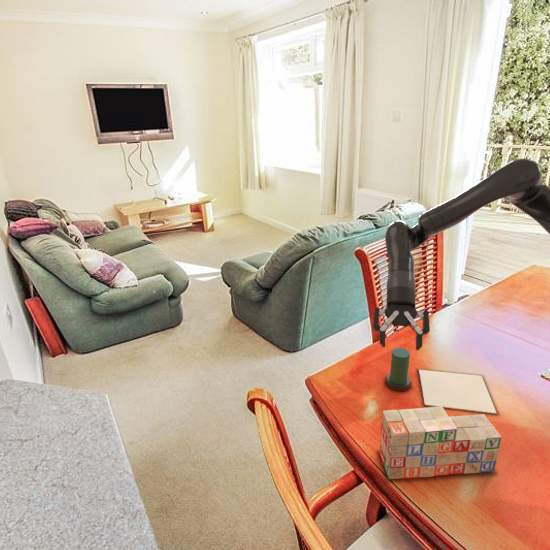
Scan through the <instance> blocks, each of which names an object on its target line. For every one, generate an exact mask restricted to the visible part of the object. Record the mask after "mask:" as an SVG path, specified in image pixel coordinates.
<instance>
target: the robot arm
mask: <svg viewBox="0 0 550 550" xmlns="http://www.w3.org/2000/svg"><path fill="white" fill-rule="evenodd" d="M501 199H504V200H505V201H507V202H508V203H510V204H511V205H513V206H514V207H516V208H517V209H519V210H521V212H523V213H525V214H526V215H528V216H529V217H530V218H532V219H533V220H534V221H535V222H537V223H538V224H539V226H540V227H541V228H543V230H544V231H546V233H547V234H548V235H550V187H549V185H547V184H546V182H545V181H544V180H543V175H542V168H541V166H540V165H539V163H537V162H536V161H535V160H533V159H530V158H517V159H515V160H511V161H510V162H508V163H506V164H505V165H503V166H501V167H500V168H499V169H497V170H495V171H494V172H493V173H491V174H490V175H488V176H486V177H485V178H484V179H483V180H481V181H479V182H478V183H476V184H475V185H473V186H471V187H470V188H468V189H466V190H465V191H463V192H461V193H459V194H458V195H456V196H454V197H453V198H450V199H449V200H447V201H444V202H443V203H439V205H436V206H435V207H433V208H430V209H428V210H427V211H424V212H422V213H421V214H420V215H419V216H418V217H417V223H416V224H415V225H413V226H412V227H410V225H409V224H408V223H407V222H405V221H402V220H395V221H392V223H390V224H389V225H388V226H387V228H386V231H385V236H384V237H385V238H384V239H385V240H384V241H385V249H386V253H387V259H388V266H387V268H388V269H387V280H386V307H385V309H384V308H380V307H378V306H376V307H374V313H373V322H372V323H373V324H372V330H373V331H376V332H378V333H379V345H380V346H381V348H385V347H386V331H387V329H389V327H391V325H393V326H394V327H403V328H405V327H409V328H410V329H411V330H412V331H413V332H414V334H415V350H416V351H419V350H420V349H421V348H422V347H423V336H425V335H429V332H430V331H431V327H430V326H431V325H430V316H429V315H430V314H429V311H428V310H427V309H426V310H423V311H420V310H419V311H418V310H417V309H416V291H417V290H416V289H417V285H416V277H415V259H414V256H413V254H412V252H411V251H414V250H416V249H417V248H419V247H420V246H421V245H423V244H425V243H426V242H427V241H428V240H430V239H431V238H432V237H433V236H436V235H438V234H440V233H443V232H445V231H448V230H449V229H451V228H453V227H455V226H457V225H458V224H460V223H461V222H463V221H464V220H466V219H467V218H469V217H470V216H472V215H473V214H474V213H476V212H477V211H479V210H480V209H482V208H483V207H486V206H487V205H489V204H492V203H494V202H496V201H498V200H501ZM383 315H385V317H386V318H387V319H386V321H384V323H383V324H382V325H381V326H380V325H379V318H380V317H382V316H383ZM417 316H418V317H419V320H421V321H422V329H421V327H420V326H419V325H418V323H417V321H416V320H415V319H416V318H417Z"/></svg>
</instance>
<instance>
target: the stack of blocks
mask: <svg viewBox="0 0 550 550" xmlns="http://www.w3.org/2000/svg"><path fill="white" fill-rule="evenodd" d="M381 418H382V420H381V421H382V422H381V423H380V425H381V426H380V448H379V455H380V458H381V459H380V460H381V461H382V464H383V466H384V468H385V472H386V475H387V479H388V480H396V479H397V480H399V479H416V478H417V479H418V478H430V477H435V476H436V477H437V476H448V475H460V474H464V475H465V474H466V475H467V474H479V473H491V472H495V468H496V464H497V460H498V457H499V453H500V446H501V442H502V436H501V434H500V433H499V431H498V430H497V429H496V428H495V426H494V425H493V424H492V423H491V422H490V419H488V417H487V416H486V414H484V413H482V414H470V415H469V414H465V415H456V416H454V415H452V416H449V415H448V413H447V412H446V409H445V408H444V407H442V406H438V407H436V406H428V407H418V408H417V407H416V408H404V409H388V410H387V409H386V410H385V409H384V410H383V411H382V417H381Z"/></svg>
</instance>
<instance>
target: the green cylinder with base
mask: <svg viewBox="0 0 550 550" xmlns="http://www.w3.org/2000/svg"><path fill="white" fill-rule="evenodd" d="M410 356H411V353H410V351H409V350H408V349H406V348H403V347H395V348H393V349H392V350H391V359H390V371H389V373H388V374H387V375H386V382H385V383H386V385H387V387H389V389H391V390H392V391H396V392H404V391H407V390H409V388H410V387H411V379H410V377H409V366H410V358H411V357H410Z"/></svg>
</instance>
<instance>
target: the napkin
mask: <svg viewBox="0 0 550 550" xmlns="http://www.w3.org/2000/svg"><path fill="white" fill-rule="evenodd" d="M418 374H419V380H420V384H421V385H420V386H421V391H422V396H423V403H424V406H428V407H438V406H442V407H443V408H444V409H452V410H453V409H454V410H460V411H469V412H479V413H486V414H493V415H497V414H498V413H497V411H496V407H495V405H494V403H493V400H492V398H491V396H490V393H489V390H488V388H487V385H486V383H485V381H484V378H483V376H482V375H480V374H479V375H478V374H468V373H457V372H448V371H437V370H427V369H418Z"/></svg>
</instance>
